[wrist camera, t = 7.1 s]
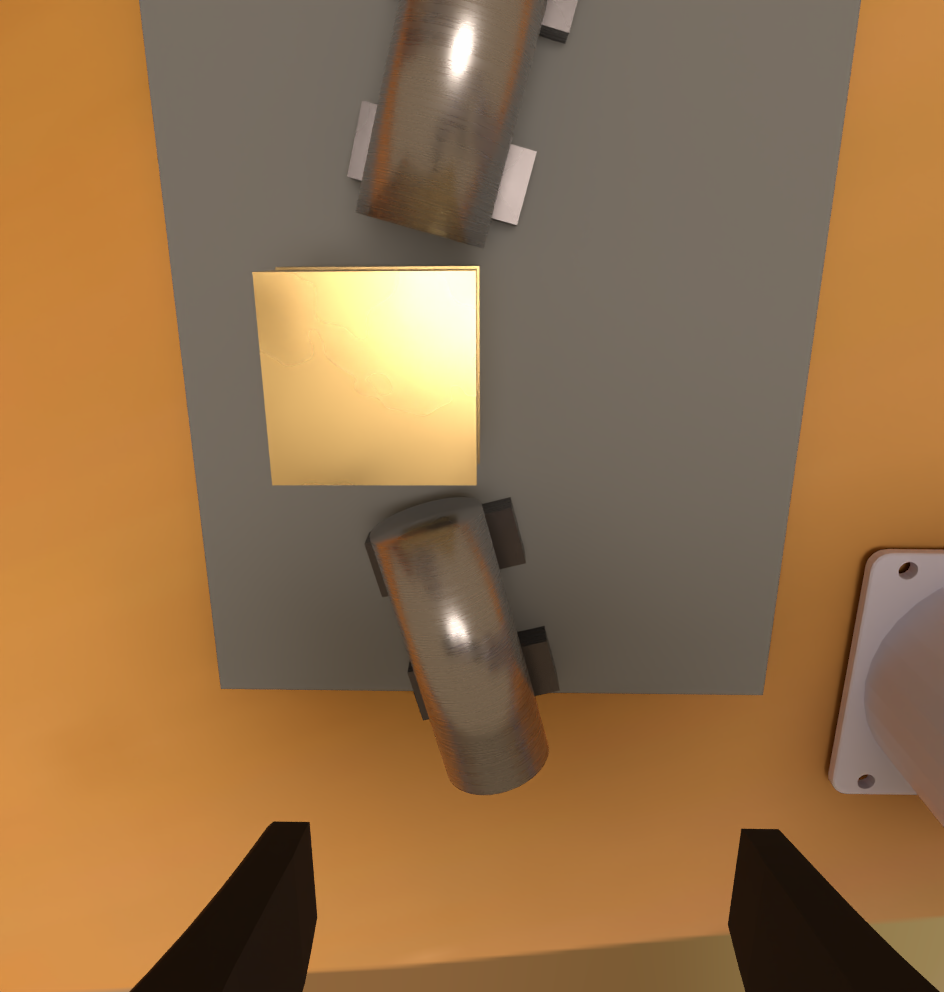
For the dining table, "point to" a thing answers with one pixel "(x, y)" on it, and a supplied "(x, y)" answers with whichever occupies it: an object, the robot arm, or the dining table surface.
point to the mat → (523, 326)
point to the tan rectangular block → (371, 373)
